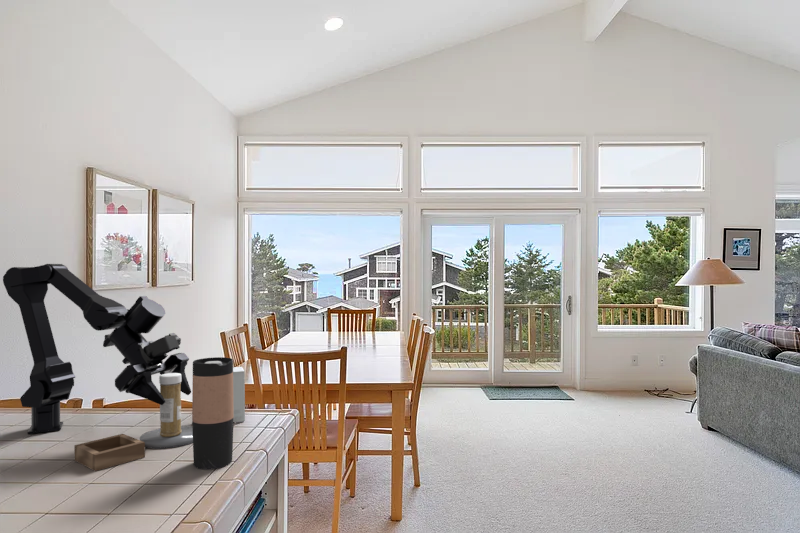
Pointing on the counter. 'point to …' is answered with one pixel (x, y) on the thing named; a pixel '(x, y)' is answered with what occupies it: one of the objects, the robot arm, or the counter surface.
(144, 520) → the counter surface
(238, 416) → the supplement box
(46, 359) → the robot arm
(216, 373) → the travel mug
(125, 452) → the walnut socket
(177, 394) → the sprinkles bottle
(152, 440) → the slate plate
